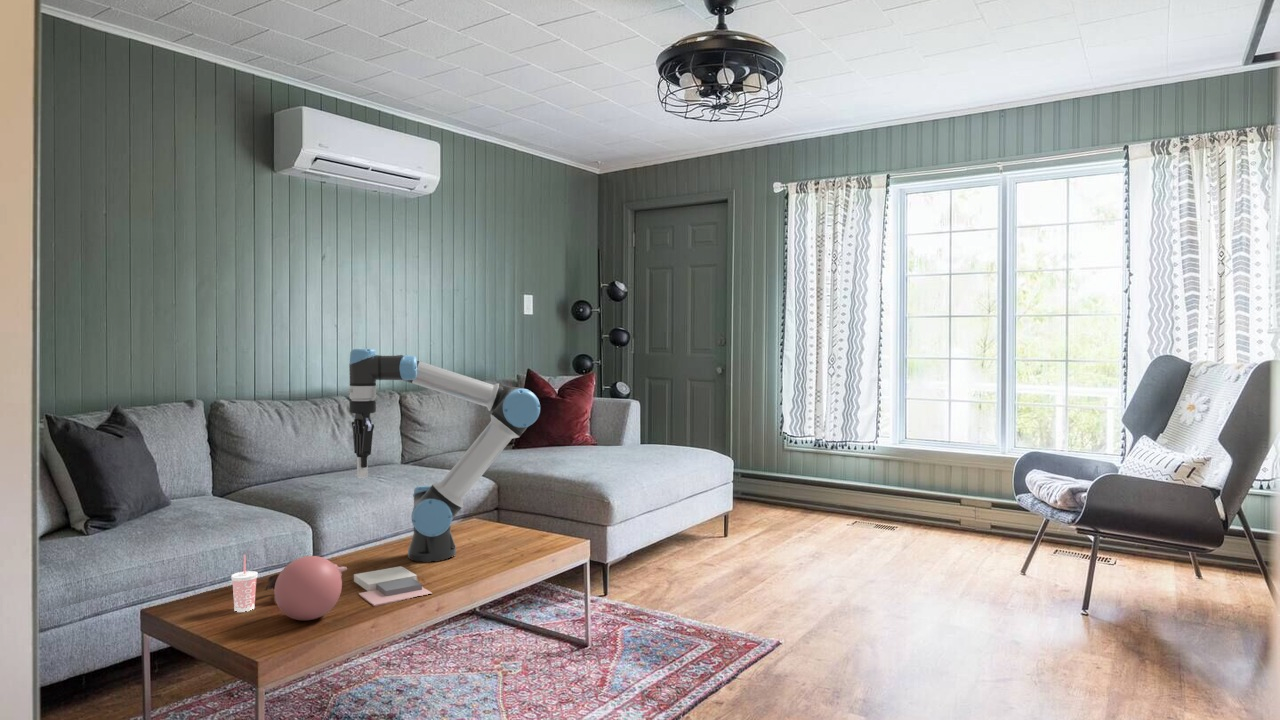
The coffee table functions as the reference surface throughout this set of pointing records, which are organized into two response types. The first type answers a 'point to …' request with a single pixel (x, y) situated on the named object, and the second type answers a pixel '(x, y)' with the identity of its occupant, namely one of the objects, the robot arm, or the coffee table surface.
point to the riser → (382, 577)
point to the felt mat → (380, 599)
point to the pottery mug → (272, 583)
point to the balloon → (308, 587)
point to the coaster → (398, 586)
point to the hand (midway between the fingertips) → (362, 478)
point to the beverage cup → (244, 589)
